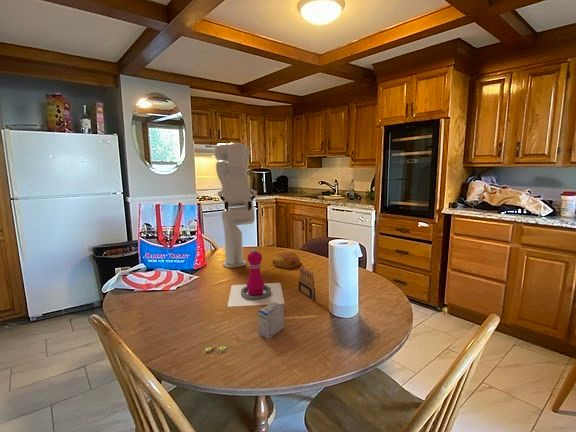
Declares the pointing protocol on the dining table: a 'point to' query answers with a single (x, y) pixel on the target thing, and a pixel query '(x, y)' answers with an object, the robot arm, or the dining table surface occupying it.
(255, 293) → the pepper mill
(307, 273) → the ammunition clip
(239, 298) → the seat board
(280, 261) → the brown rounded lump
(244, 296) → the ring collar
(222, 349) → the bearing assembly
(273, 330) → the medicine box
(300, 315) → the dining table surface
